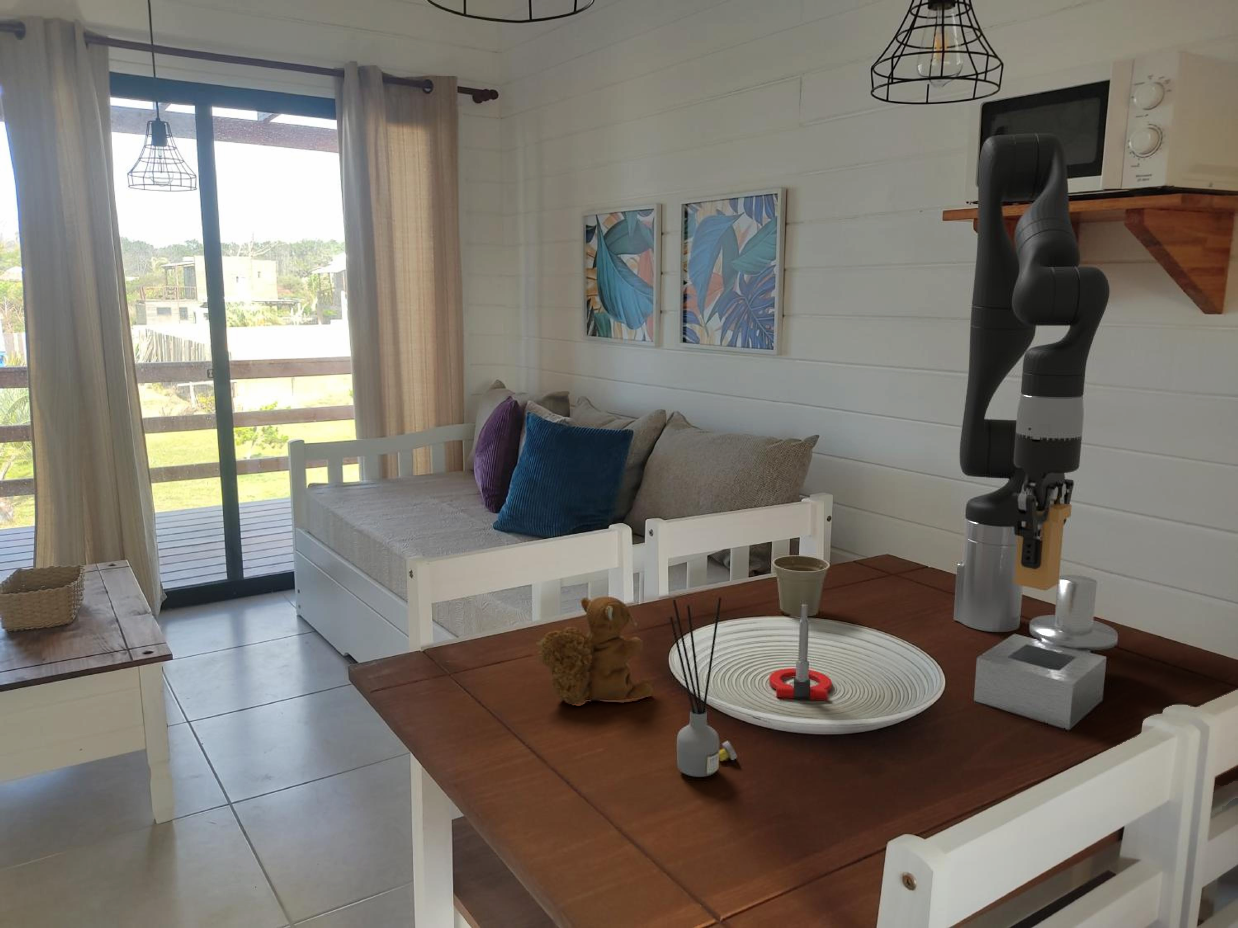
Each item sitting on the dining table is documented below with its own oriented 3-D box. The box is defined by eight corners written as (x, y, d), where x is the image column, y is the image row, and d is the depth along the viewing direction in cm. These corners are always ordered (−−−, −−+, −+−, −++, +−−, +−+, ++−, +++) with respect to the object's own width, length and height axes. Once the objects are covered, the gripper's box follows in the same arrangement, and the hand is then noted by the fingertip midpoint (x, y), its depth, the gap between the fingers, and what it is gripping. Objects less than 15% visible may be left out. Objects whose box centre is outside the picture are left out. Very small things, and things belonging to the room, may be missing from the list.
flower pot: (833, 622, 152) (835, 571, 150) (775, 622, 152) (776, 571, 150) (821, 603, 161) (823, 555, 159) (767, 603, 161) (768, 555, 160)
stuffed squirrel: (658, 696, 124) (658, 602, 122) (565, 722, 117) (563, 622, 115) (619, 671, 133) (618, 582, 130) (530, 693, 125) (528, 600, 123)
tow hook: (768, 674, 132) (769, 699, 123) (771, 586, 131) (772, 604, 122) (829, 677, 131) (834, 703, 122) (832, 589, 129) (838, 608, 120)
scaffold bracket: (973, 700, 122) (980, 598, 120) (1040, 653, 138) (1047, 562, 136) (1069, 730, 114) (1078, 621, 112) (1128, 676, 130) (1137, 580, 127)
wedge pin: (1008, 582, 120) (1014, 503, 118) (1021, 575, 123) (1027, 497, 121) (1052, 592, 116) (1059, 510, 114) (1064, 584, 119) (1071, 504, 117)
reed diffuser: (687, 795, 100) (689, 618, 96) (642, 772, 105) (642, 602, 101) (747, 762, 107) (751, 595, 103) (701, 742, 112) (703, 582, 108)
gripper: (1040, 421, 123) (1030, 546, 126) (994, 434, 113) (984, 569, 117) (1101, 427, 118) (1089, 557, 121) (1057, 441, 108) (1045, 582, 111)
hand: (1037, 562), depth 119 cm, fingers closed on wedge pin, 4 cm apart
